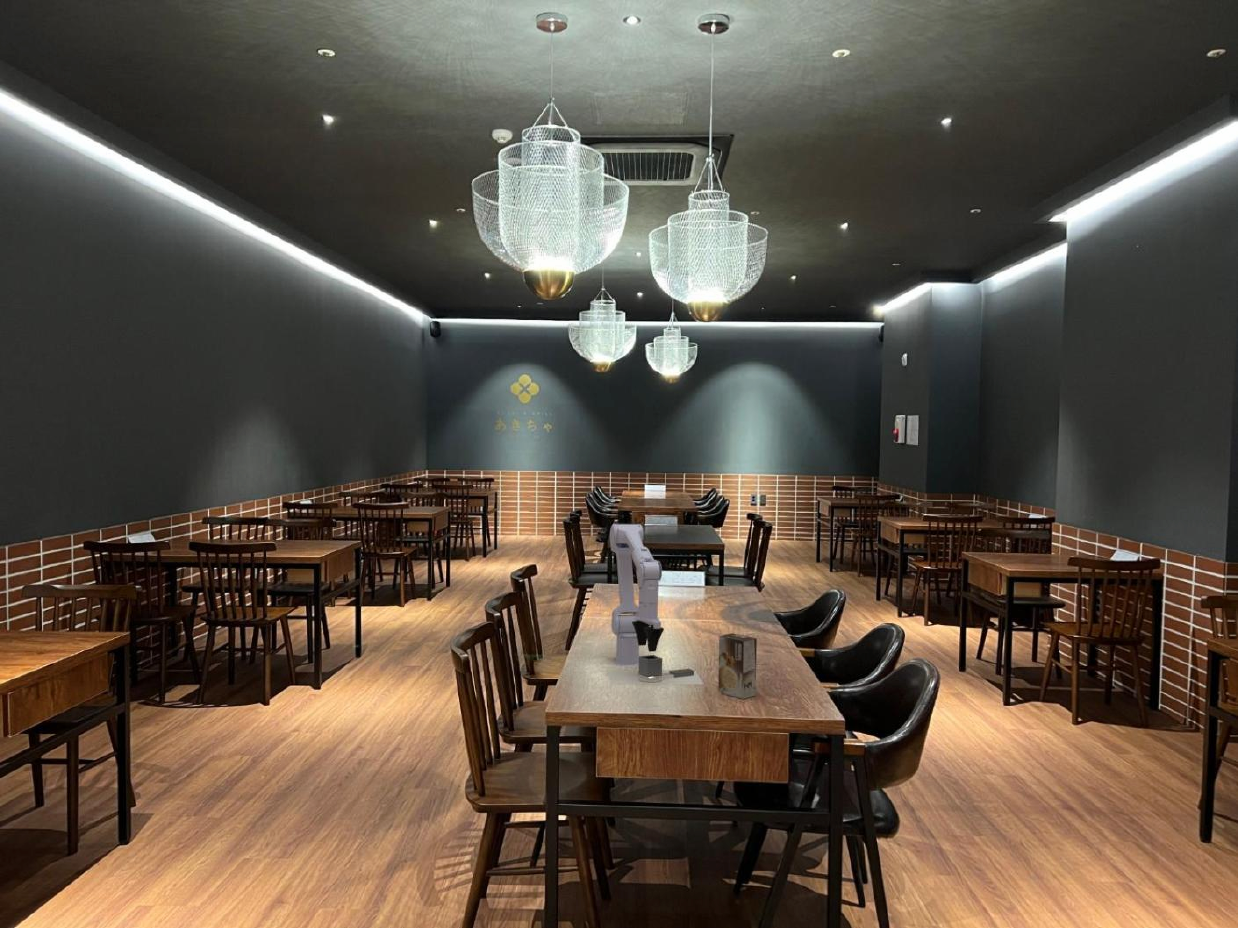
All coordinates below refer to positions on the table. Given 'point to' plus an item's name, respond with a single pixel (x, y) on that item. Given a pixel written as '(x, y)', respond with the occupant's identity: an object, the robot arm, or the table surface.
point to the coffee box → (737, 665)
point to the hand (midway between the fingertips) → (647, 648)
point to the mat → (632, 678)
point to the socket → (650, 666)
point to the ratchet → (666, 675)
